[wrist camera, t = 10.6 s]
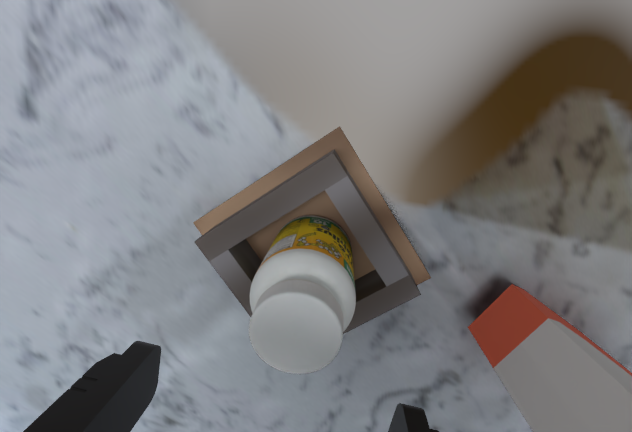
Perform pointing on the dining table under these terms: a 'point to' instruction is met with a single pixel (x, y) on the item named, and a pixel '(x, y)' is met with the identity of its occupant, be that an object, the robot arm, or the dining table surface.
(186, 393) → the dining table surface
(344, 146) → the collar stand
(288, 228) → the supplement bottle
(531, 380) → the french fries container
